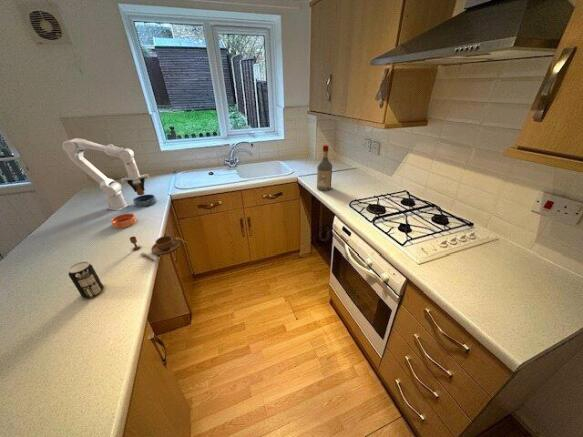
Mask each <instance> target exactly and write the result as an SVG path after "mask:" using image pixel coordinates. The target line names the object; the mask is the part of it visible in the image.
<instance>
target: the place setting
mask: <svg viewBox="0 0 583 437" xmlns="http://www.w3.org/2000/svg"><path fill="white" fill-rule="evenodd" d="M137 240H138V239H137V237H136V236H134V235H133V236H130V237H129V241H130V243H131V244H132V245H133V246H134V247H133V249H132V250H133V251H138V250H140V249H141V246H139V245H138V244H137V242H138V241H137ZM181 241H182V242H183V243H185V244H188V242H187V241H185V240H184V239H182V238H181V237H180V236H175V238H173V237H172V236H171V235H164V236H161V237H158V238H157V239H156V240H155V243H154V244H153V245H152V246H151V248H150V251H151V252H152V254H154V255H155V256H165V255H166V256H167V255H169V254H172V253H174V252H175V251H177V250H178V249H179V247H180V245H181V243H180V242H181ZM140 256H142V257H144V258H145V257H146V258H147V259H149V260H150V261H152V262H155V259H153V258H151V257H150V256H148V255H147V254H146V253H144V252H141V253H140Z"/></svg>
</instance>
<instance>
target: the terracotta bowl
mask: <svg viewBox="0 0 583 437" xmlns="http://www.w3.org/2000/svg"><path fill="white" fill-rule="evenodd" d="M137 222H138V221H137V218H136V215H135V214H134V213H130V212H129V213H123V214H119V215H117V216H115V217H112V219H111V220H110V223H111V226H112V227H113V229H116V230H121V229H126V228H129V227H132V226H134V225H135V224H136V223H137Z"/></svg>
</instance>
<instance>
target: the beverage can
mask: <svg viewBox="0 0 583 437" xmlns="http://www.w3.org/2000/svg"><path fill="white" fill-rule="evenodd" d="M67 272H68V277H69V278H70V279H71V281H72V283H73V285H74V286H75V288H76V290H77V291H78V293H79V294H80V296H81V298H84V299H85V298H86V299H90V298H94V297H96V296H97V295H100V293H101V292H102V291H103V289H104V284H103V282H102V281H101V279H100V278H99V276H98V274H97V271H96V270H95V268H94V267H93V265H92V264H91V263H90V262H89V261H80V262H77V263H74V264H73V265H71V266H70V267H69V268H67Z"/></svg>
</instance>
